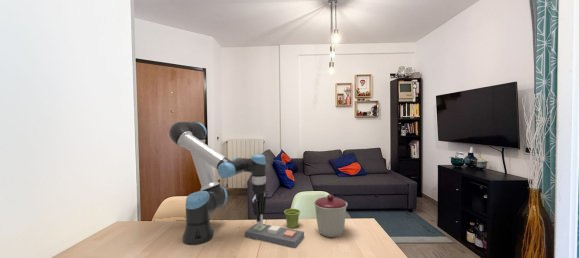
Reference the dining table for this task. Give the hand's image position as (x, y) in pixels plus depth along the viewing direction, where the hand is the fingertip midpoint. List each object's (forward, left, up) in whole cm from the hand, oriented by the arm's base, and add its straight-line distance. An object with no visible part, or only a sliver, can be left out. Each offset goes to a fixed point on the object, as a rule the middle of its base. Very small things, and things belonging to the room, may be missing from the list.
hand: (259, 226), depth 129 cm
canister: (+35, +16, -5) cm, 39 cm away
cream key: (+9, 0, -2) cm, 9 cm away
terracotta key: (+18, 0, -3) cm, 18 cm away
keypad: (+9, 0, -4) cm, 10 cm away
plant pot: (+12, +16, -5) cm, 21 cm away
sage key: (0, 0, -3) cm, 3 cm away
